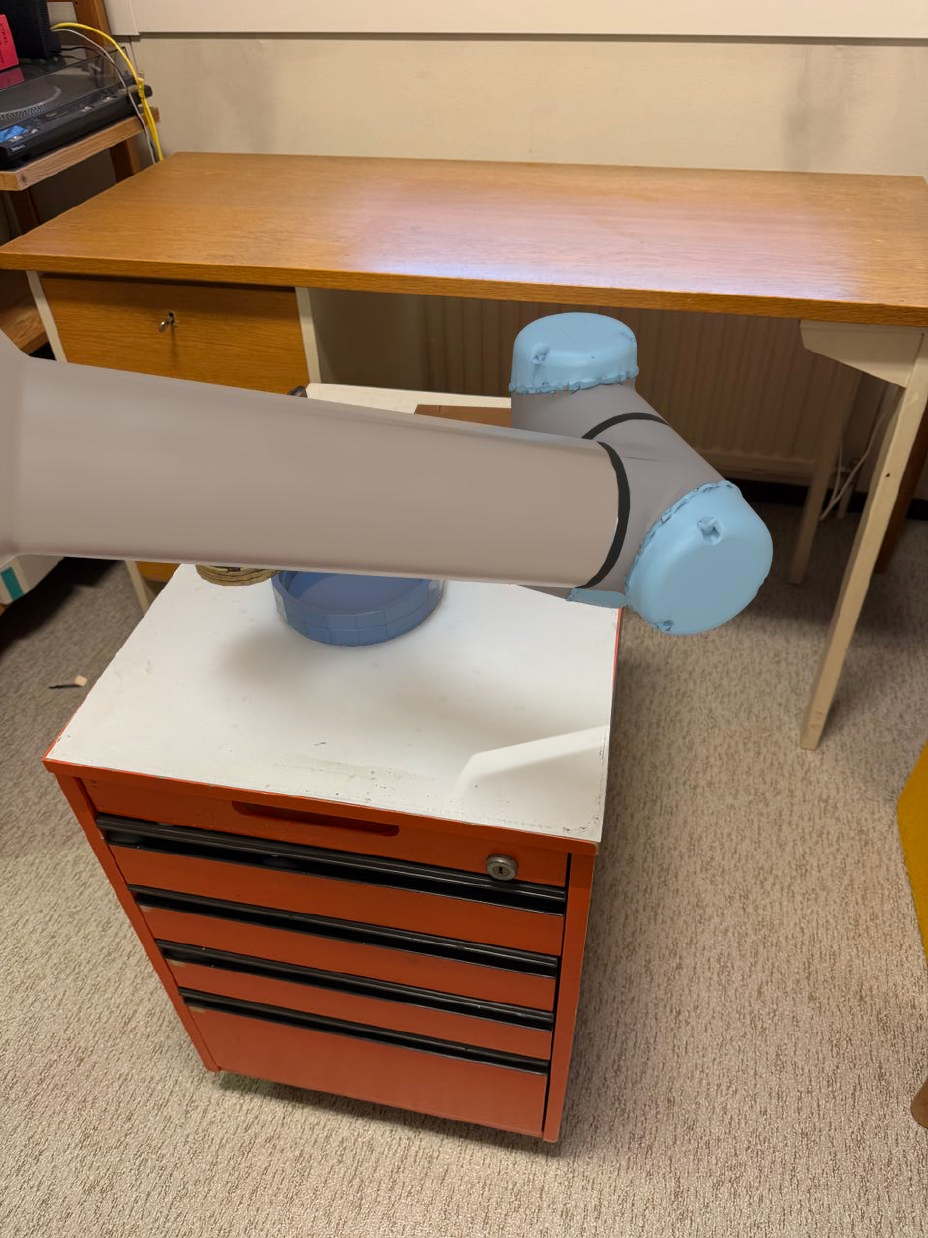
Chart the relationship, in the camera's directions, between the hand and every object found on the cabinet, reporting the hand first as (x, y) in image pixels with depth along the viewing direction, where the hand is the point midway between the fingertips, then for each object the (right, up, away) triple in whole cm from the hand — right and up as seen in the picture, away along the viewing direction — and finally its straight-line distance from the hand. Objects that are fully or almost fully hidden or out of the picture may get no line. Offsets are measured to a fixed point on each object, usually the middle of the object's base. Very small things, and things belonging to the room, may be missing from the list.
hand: (198, 452), depth 74 cm
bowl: (+11, -11, +20) cm, 26 cm away
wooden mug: (+5, -9, +5) cm, 11 cm away
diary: (+26, +3, +36) cm, 45 cm away
